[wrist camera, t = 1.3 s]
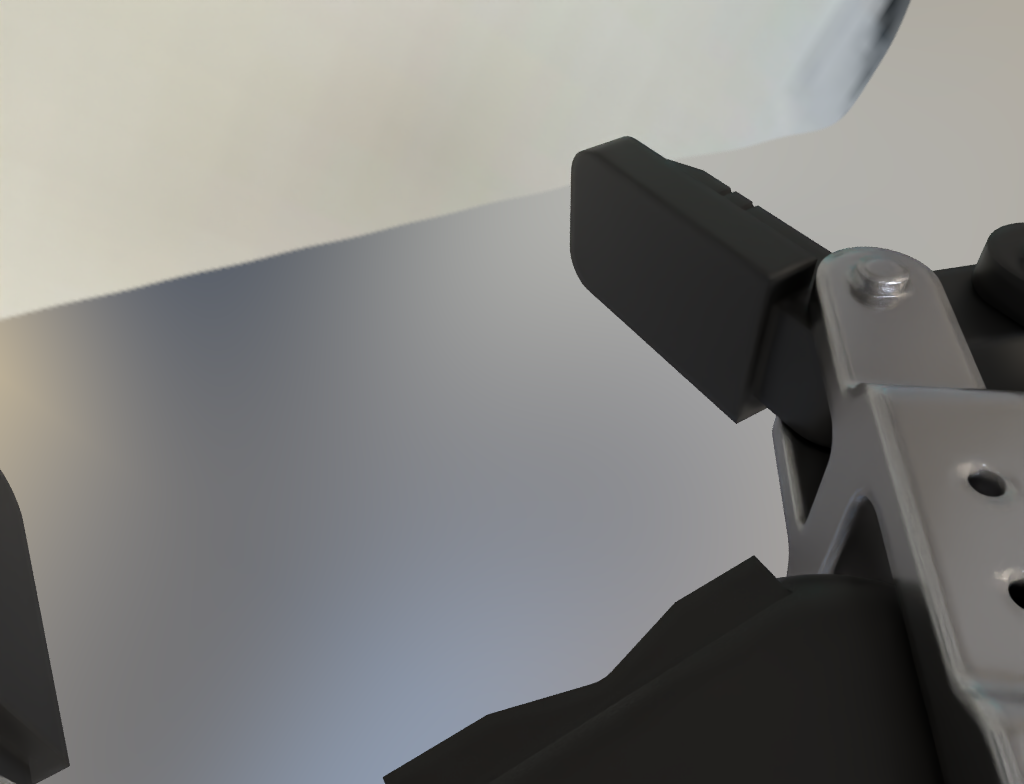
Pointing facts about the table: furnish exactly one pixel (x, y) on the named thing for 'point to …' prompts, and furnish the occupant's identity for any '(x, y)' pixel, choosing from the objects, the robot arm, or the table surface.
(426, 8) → the table surface
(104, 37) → the table surface
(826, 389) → the robot arm
